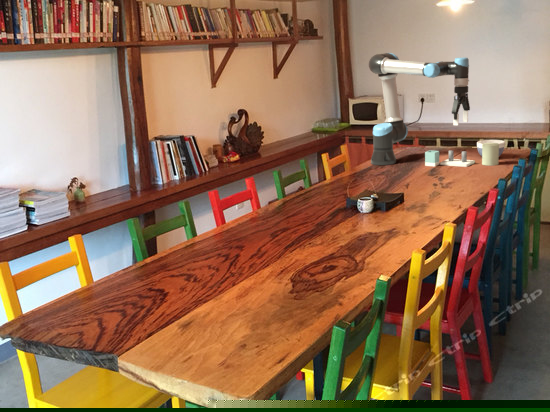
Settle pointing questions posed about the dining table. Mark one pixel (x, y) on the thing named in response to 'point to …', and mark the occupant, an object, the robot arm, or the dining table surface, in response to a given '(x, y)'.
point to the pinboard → (457, 160)
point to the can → (490, 154)
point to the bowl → (500, 142)
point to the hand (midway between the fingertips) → (460, 123)
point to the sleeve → (431, 158)
